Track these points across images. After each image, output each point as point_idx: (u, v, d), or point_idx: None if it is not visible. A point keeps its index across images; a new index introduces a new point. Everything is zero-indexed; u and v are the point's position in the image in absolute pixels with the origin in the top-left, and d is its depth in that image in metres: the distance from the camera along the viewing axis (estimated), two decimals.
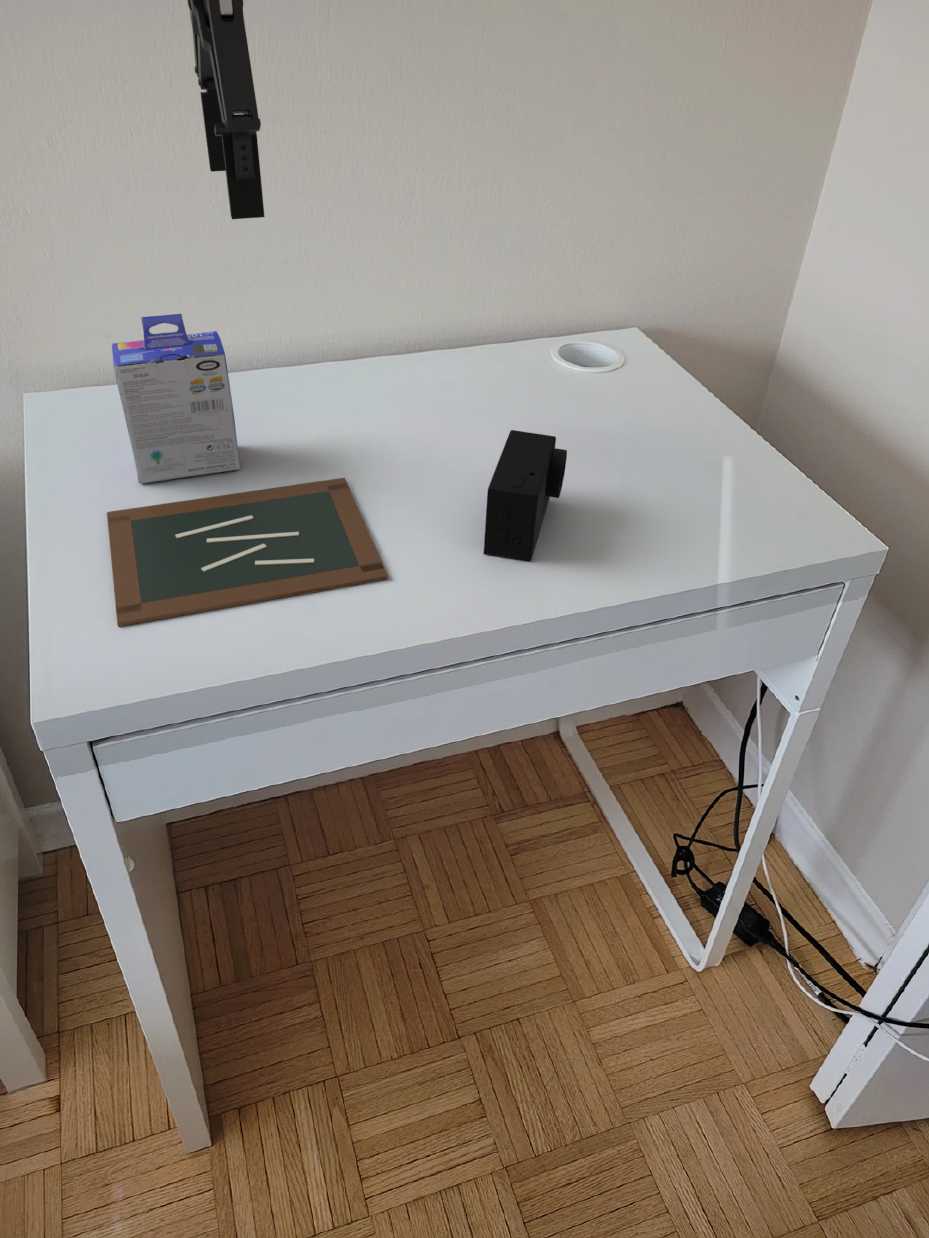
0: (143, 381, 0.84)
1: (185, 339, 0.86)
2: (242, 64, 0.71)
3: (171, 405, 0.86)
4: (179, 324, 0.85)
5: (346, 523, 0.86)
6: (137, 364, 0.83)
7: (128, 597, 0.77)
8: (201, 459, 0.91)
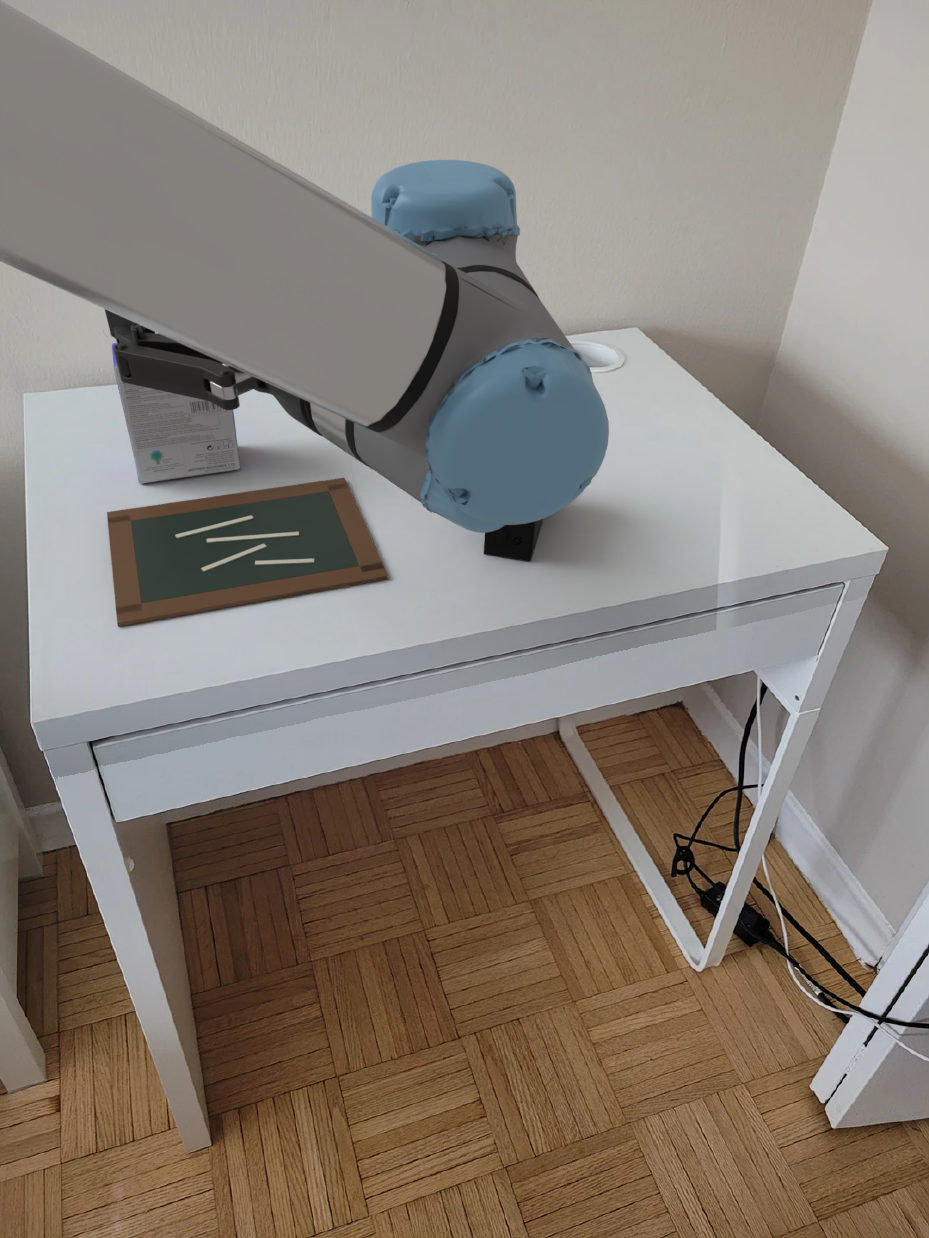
0: None
1: None
2: (169, 384, 0.65)
3: (171, 405, 0.86)
4: None
5: (346, 523, 0.86)
6: None
7: (128, 597, 0.77)
8: (201, 459, 0.91)
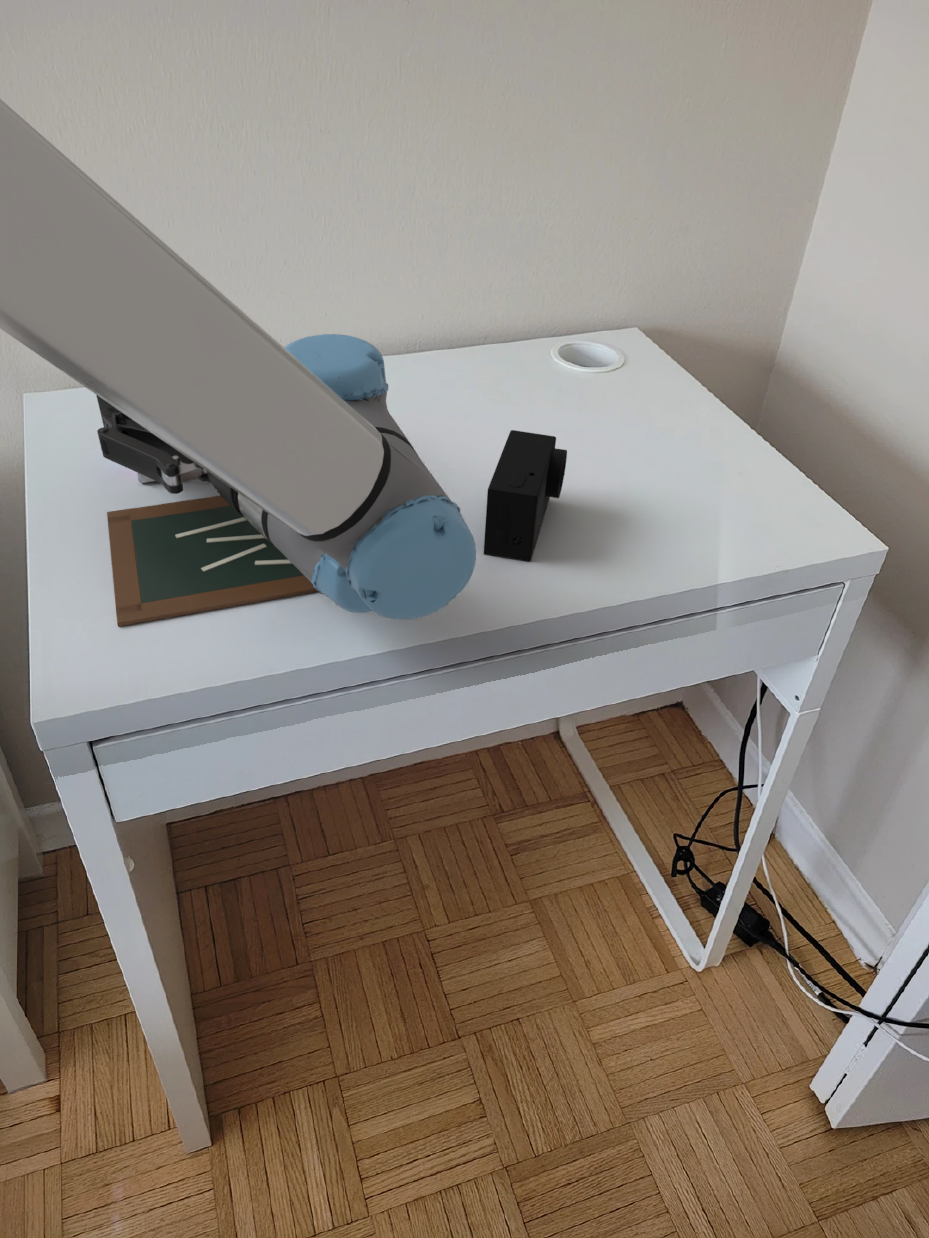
0: None
1: None
2: (134, 465, 0.81)
3: None
4: None
5: None
6: None
7: (128, 597, 0.77)
8: None
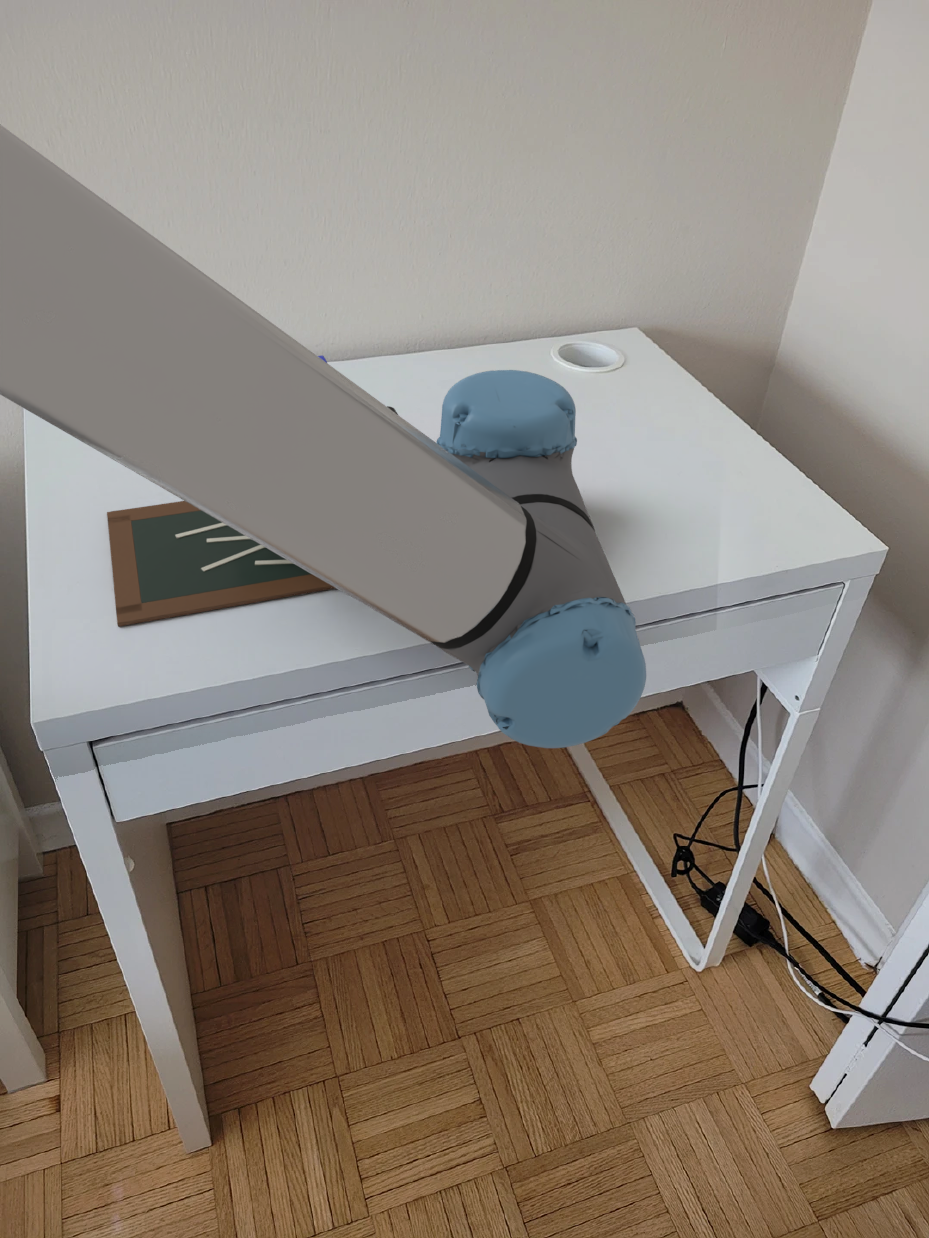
0: None
1: None
2: None
3: None
4: None
5: None
6: None
7: (128, 597, 0.77)
8: None
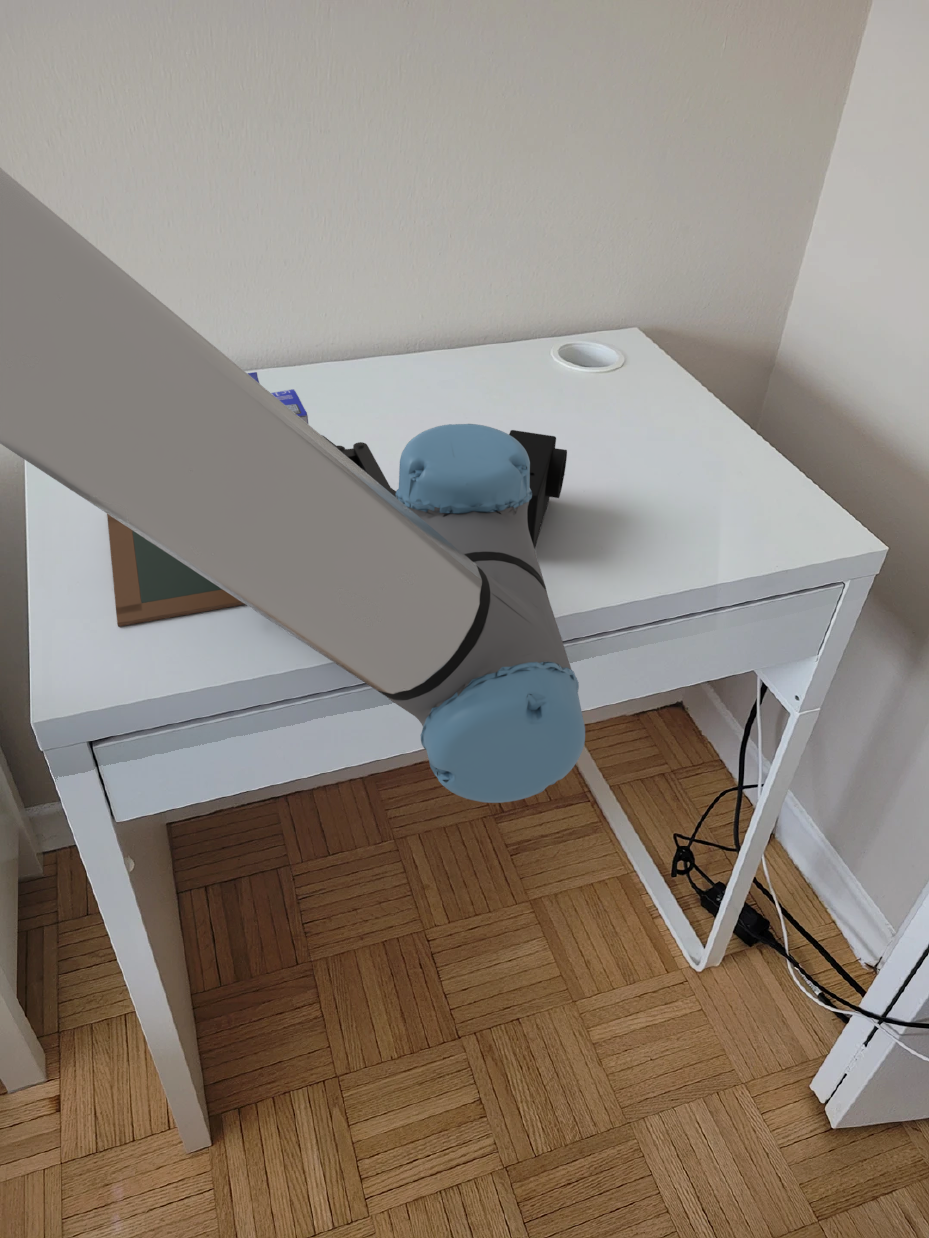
0: None
1: None
2: None
3: None
4: None
5: None
6: None
7: (128, 597, 0.77)
8: None
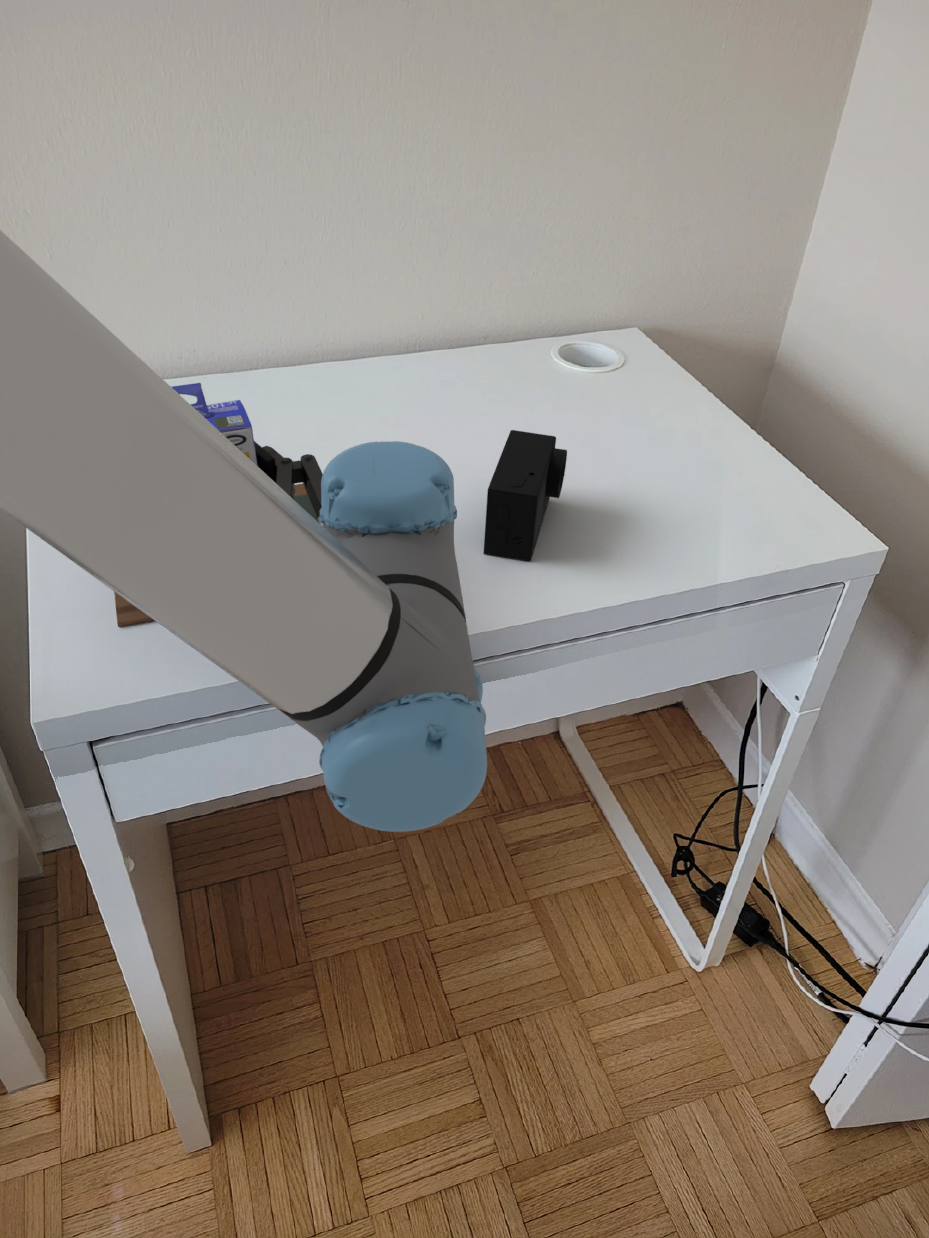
0: None
1: (206, 411, 0.75)
2: None
3: None
4: (198, 394, 0.75)
5: None
6: None
7: None
8: None
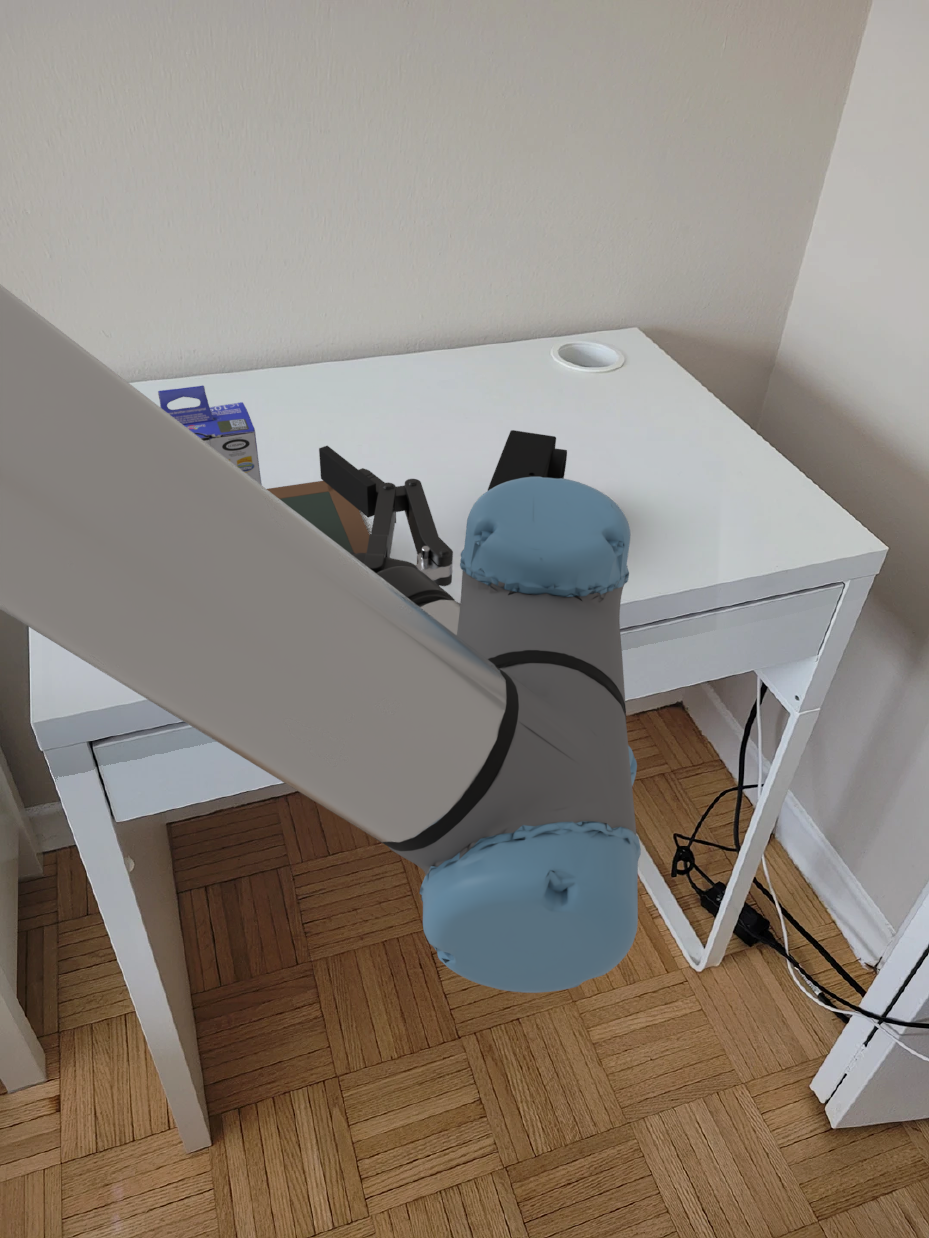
0: None
1: (209, 414, 0.75)
2: None
3: None
4: (201, 397, 0.74)
5: (346, 523, 0.86)
6: None
7: None
8: None
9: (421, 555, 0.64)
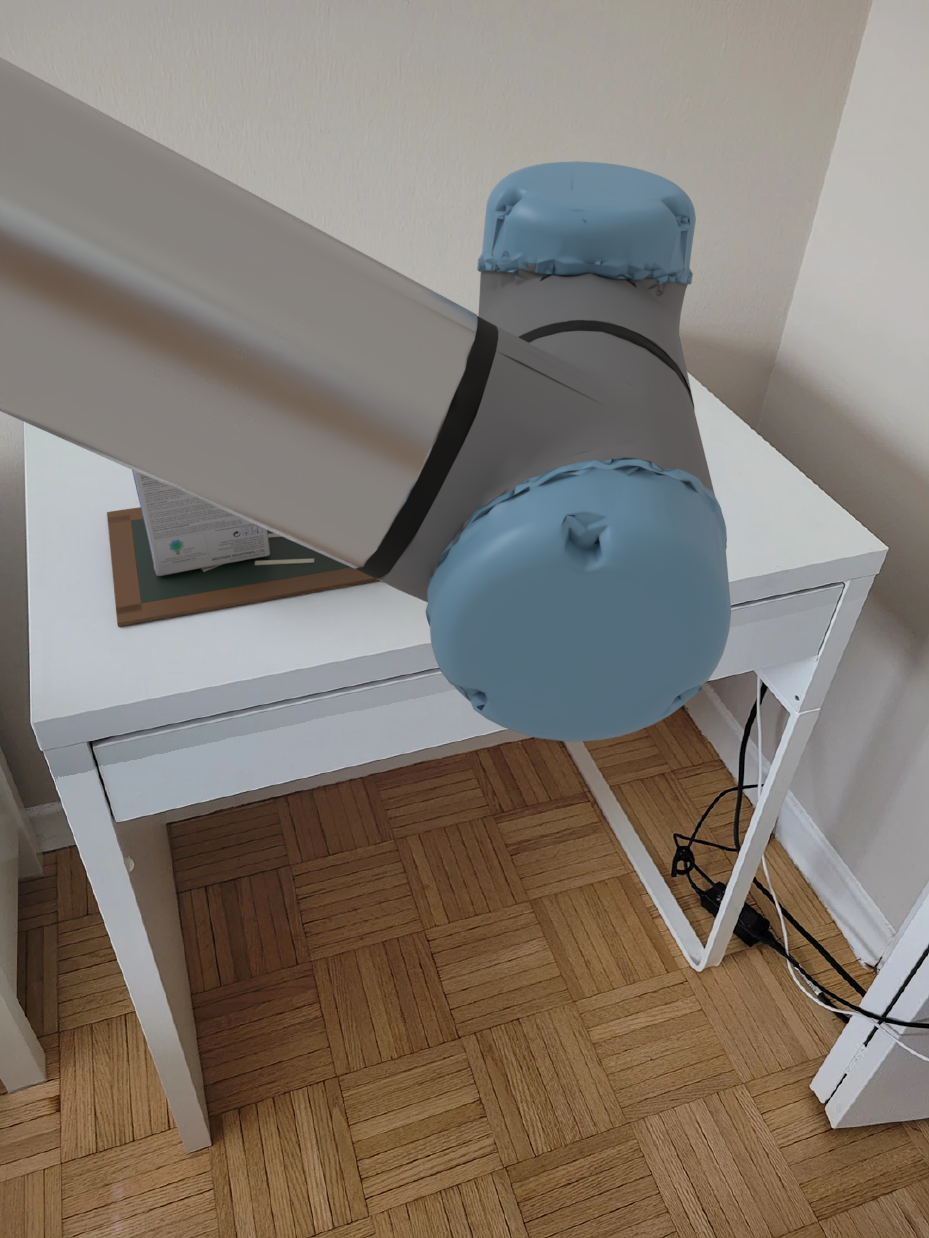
0: None
1: None
2: None
3: None
4: None
5: None
6: None
7: (128, 597, 0.77)
8: (226, 546, 0.79)
9: None
